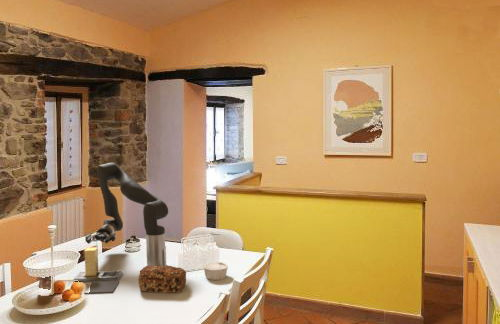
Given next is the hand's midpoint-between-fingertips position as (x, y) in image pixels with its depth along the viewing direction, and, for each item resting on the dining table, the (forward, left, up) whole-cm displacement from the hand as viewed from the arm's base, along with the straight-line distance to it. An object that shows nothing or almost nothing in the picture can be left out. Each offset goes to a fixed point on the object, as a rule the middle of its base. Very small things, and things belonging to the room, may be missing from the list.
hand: (97, 241), depth 213 cm
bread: (-35, +27, -15) cm, 47 cm away
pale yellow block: (0, +11, -14) cm, 18 cm away
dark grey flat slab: (-3, +11, -14) cm, 19 cm away
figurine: (+14, +28, -14) cm, 35 cm away
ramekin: (-58, +15, -15) cm, 62 cm away
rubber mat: (-8, +24, -14) cm, 29 cm away
